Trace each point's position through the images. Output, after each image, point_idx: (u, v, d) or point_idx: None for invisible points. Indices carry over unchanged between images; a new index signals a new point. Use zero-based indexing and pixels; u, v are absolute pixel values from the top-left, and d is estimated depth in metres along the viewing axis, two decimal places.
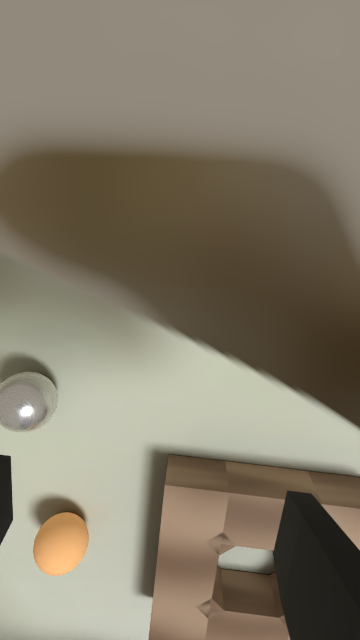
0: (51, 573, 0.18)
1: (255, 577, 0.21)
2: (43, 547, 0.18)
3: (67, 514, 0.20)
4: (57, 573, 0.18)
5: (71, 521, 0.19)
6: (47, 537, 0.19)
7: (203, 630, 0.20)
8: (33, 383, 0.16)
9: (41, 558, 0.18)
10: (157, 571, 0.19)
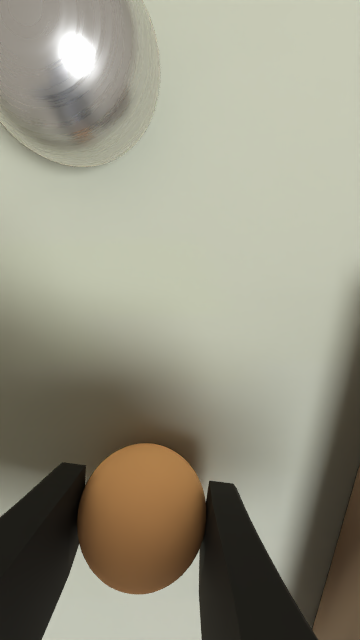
0: (131, 589, 0.07)
1: None
2: (109, 518, 0.07)
3: (154, 445, 0.08)
4: (146, 588, 0.07)
5: (169, 457, 0.08)
6: (118, 492, 0.07)
7: None
8: None
9: (105, 548, 0.07)
10: None
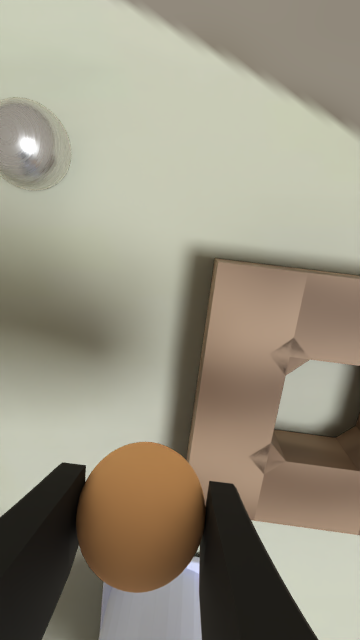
0: (130, 587, 0.07)
1: (318, 438, 0.16)
2: (108, 516, 0.07)
3: (153, 443, 0.08)
4: (145, 586, 0.07)
5: (167, 455, 0.08)
6: (116, 490, 0.07)
7: (256, 492, 0.15)
8: (39, 104, 0.12)
9: (104, 546, 0.07)
10: (200, 402, 0.14)
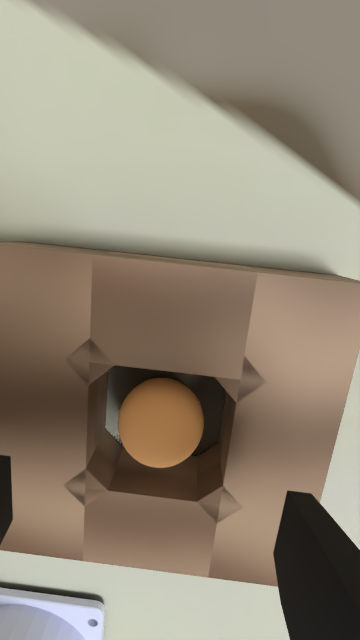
0: (156, 459, 0.11)
1: None
2: (142, 414, 0.11)
3: (167, 378, 0.12)
4: (166, 458, 0.11)
5: (178, 383, 0.12)
6: (147, 399, 0.11)
7: (79, 527, 0.12)
8: None
9: (140, 431, 0.10)
10: None
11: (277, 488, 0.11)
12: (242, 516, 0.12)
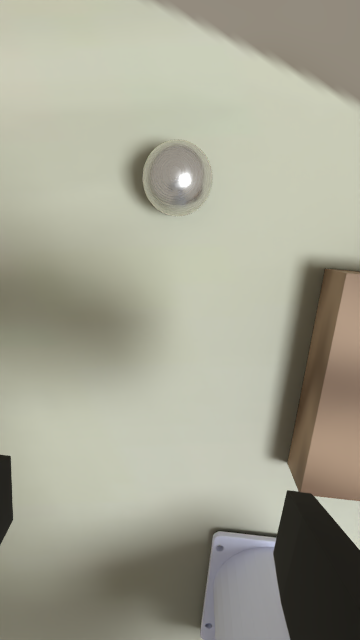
0: None
1: None
2: None
3: None
4: None
5: None
6: None
7: None
8: None
9: None
10: (323, 396, 0.16)
11: None
12: None
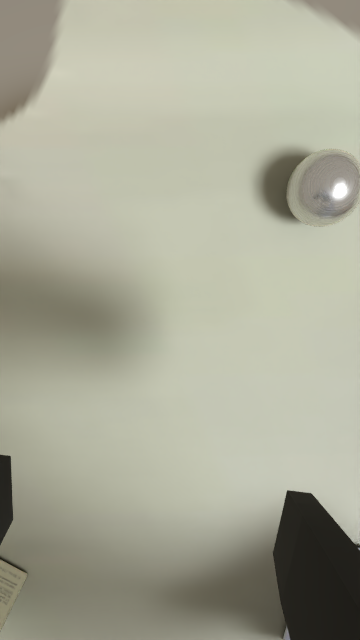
0: None
1: None
2: None
3: None
4: None
5: None
6: None
7: None
8: (350, 154, 0.13)
9: None
10: None
11: None
12: None
